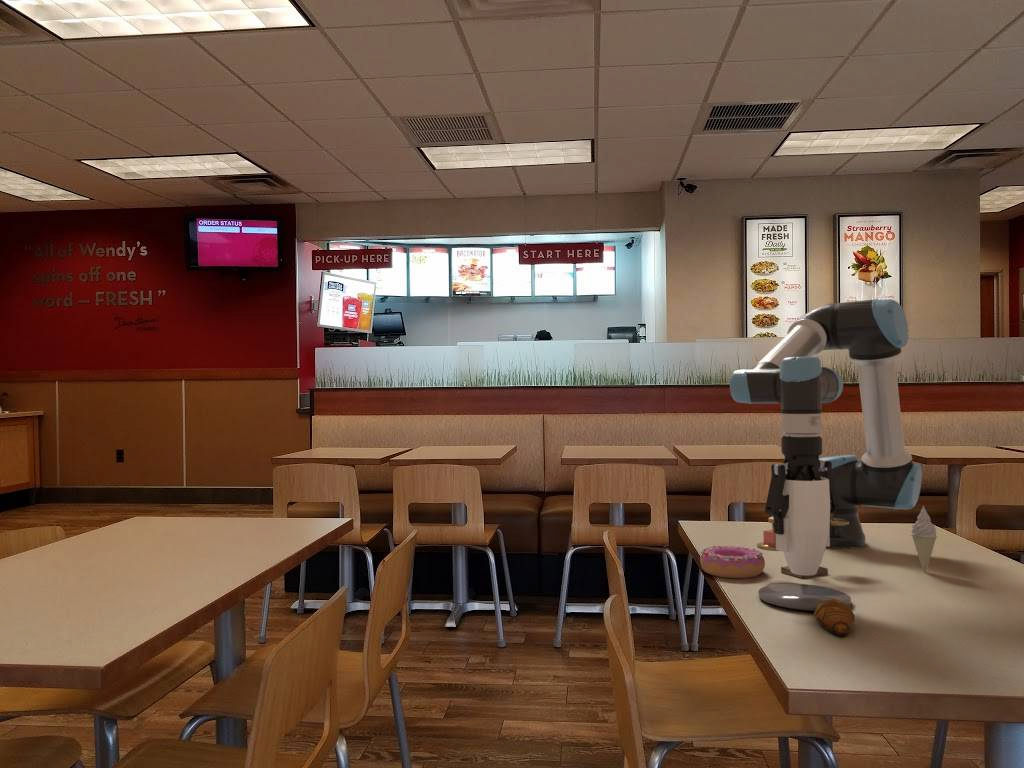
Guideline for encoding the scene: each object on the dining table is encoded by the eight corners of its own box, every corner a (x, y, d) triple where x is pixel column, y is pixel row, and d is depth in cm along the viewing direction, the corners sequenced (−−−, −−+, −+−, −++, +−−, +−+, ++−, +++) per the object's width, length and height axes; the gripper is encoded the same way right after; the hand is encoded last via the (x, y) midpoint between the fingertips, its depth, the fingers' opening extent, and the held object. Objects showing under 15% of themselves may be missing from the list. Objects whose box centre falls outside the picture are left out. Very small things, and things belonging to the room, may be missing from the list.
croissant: (864, 640, 127) (864, 610, 127) (821, 638, 128) (821, 609, 128) (845, 616, 140) (845, 589, 140) (807, 614, 141) (806, 587, 141)
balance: (774, 583, 163) (772, 502, 163) (750, 576, 169) (749, 498, 169) (856, 570, 174) (855, 494, 174) (831, 563, 180) (830, 490, 180)
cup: (806, 597, 143) (804, 482, 143) (764, 585, 152) (762, 477, 152) (844, 590, 147) (842, 479, 147) (801, 578, 157) (800, 473, 157)
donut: (775, 571, 174) (775, 549, 174) (747, 584, 164) (746, 560, 164) (718, 562, 184) (718, 541, 184) (687, 573, 173) (687, 551, 173)
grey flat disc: (740, 596, 154) (740, 590, 154) (802, 585, 161) (802, 579, 161) (805, 618, 138) (805, 612, 138) (871, 606, 146) (870, 599, 146)
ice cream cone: (936, 570, 172) (935, 504, 172) (938, 575, 168) (937, 507, 168) (911, 568, 174) (910, 503, 174) (912, 573, 170) (911, 506, 170)
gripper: (772, 438, 141) (773, 558, 141) (858, 433, 151) (859, 545, 151) (743, 436, 148) (745, 550, 148) (827, 431, 158) (829, 539, 158)
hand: (803, 548), depth 150 cm, fingers closed on cup, 10 cm apart
